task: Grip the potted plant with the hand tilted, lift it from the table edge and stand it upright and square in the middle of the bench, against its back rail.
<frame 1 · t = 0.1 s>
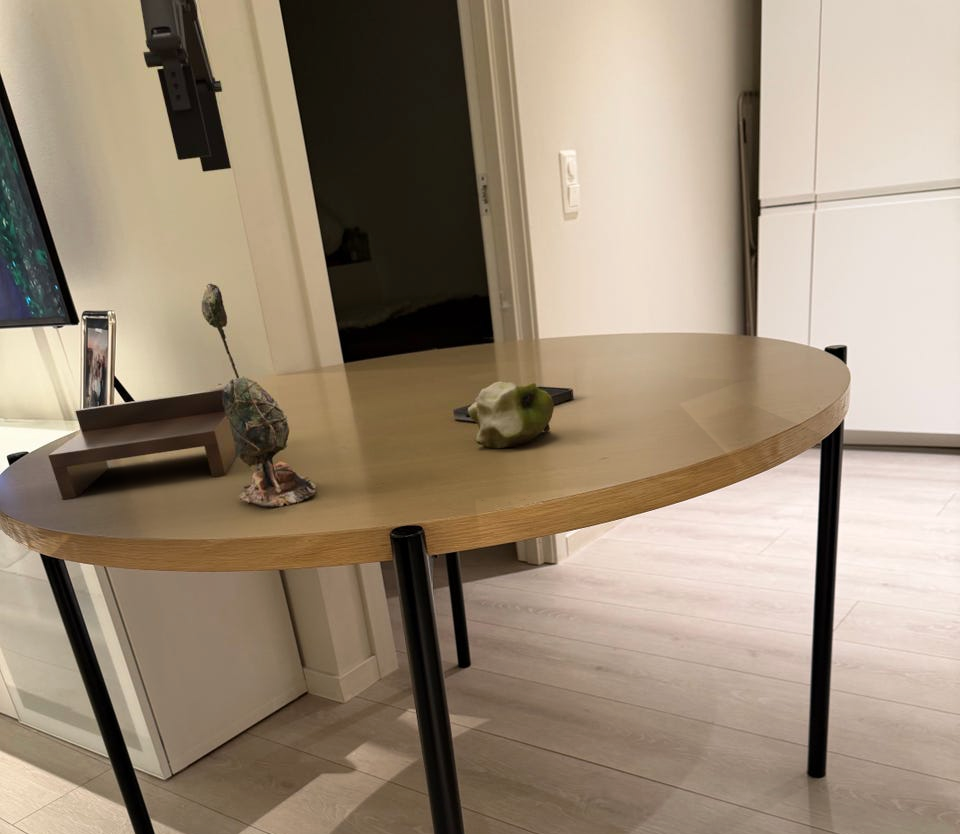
hand: (206, 164, 81), 30 cm above the table, tool pointing down, fingers open, 13 cm apart
phone: (514, 409, 113), on the table
fruit: (513, 444, 97), on the table
bench: (157, 472, 105), on the table
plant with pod: (277, 501, 87), on the table
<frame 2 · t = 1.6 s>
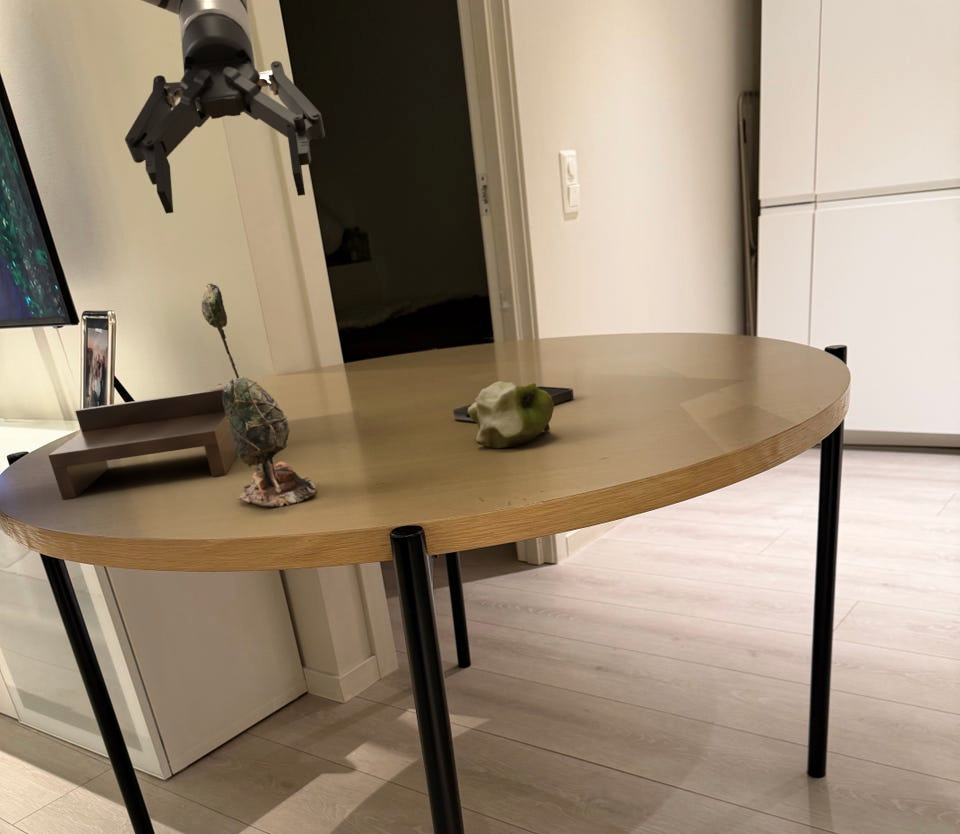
hand: (232, 193, 90), 28 cm above the table, tool tilted 45°, fingers open, 13 cm apart
nothing on the table moved.
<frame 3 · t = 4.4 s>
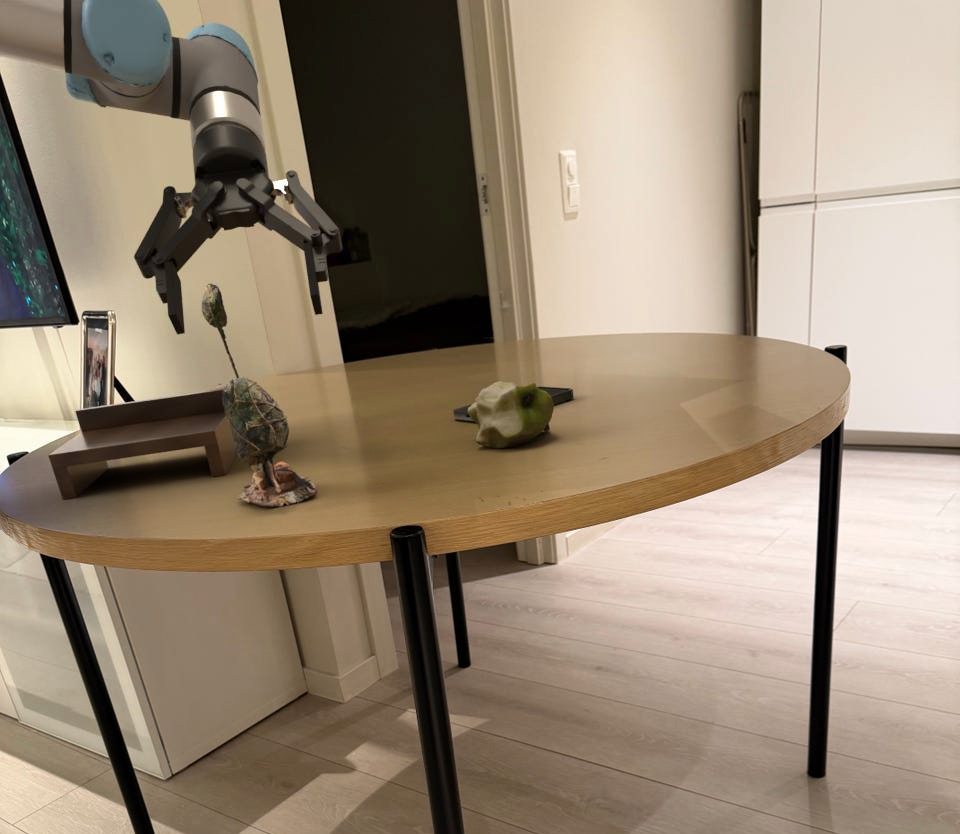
hand: (247, 315, 86), 17 cm above the table, tool tilted 45°, fingers open, 13 cm apart
nothing on the table moved.
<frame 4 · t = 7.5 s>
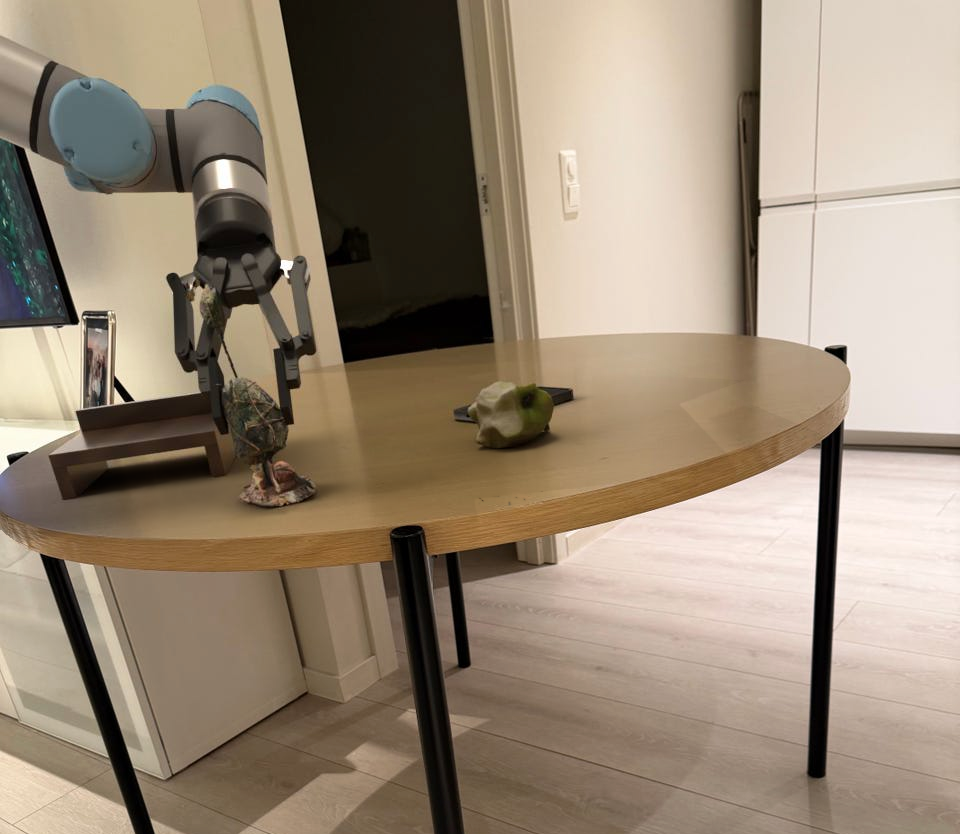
hand: (254, 420, 80), 8 cm above the table, tool tilted 45°, fingers closed on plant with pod, 5 cm apart
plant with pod: (277, 500, 87), on the table, touching gripper
everything else where it was.
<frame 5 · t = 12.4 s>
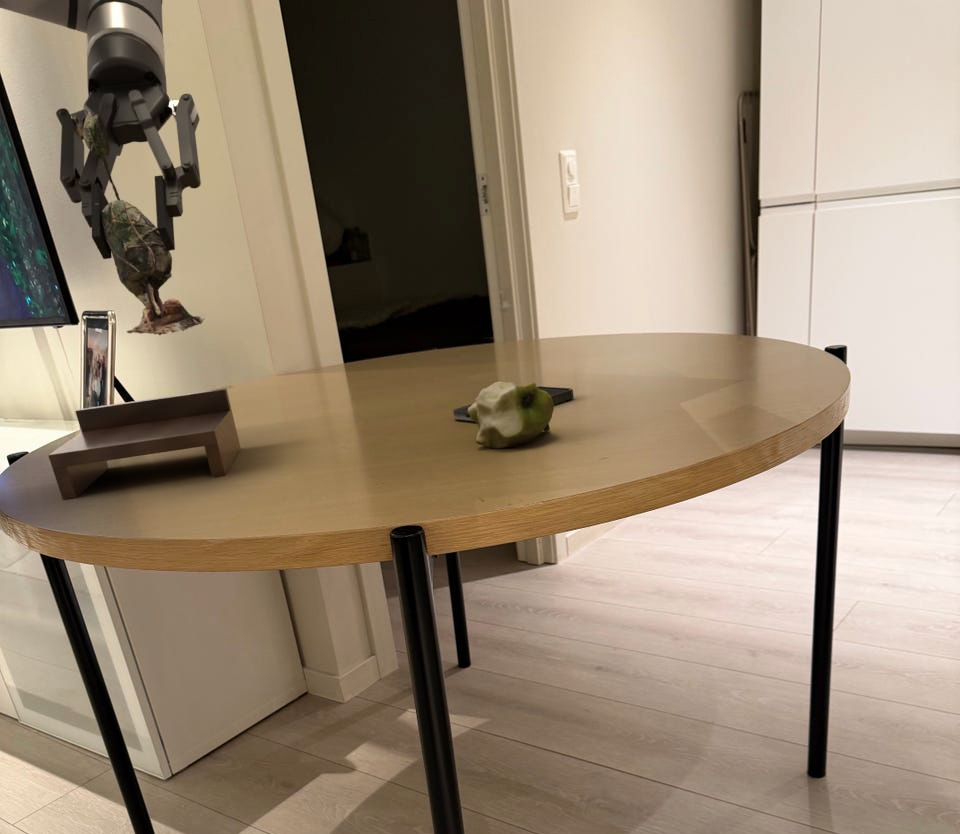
hand: (134, 243, 83), 24 cm above the table, tool tilted 45°, fingers closed on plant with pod, 5 cm apart
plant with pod: (166, 334, 90), point 16 cm above the table, touching gripper
everything else where it was.
when the fingers open (13 cm above the table, at t = 17.3 s): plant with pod stays where it is, resting on bench.
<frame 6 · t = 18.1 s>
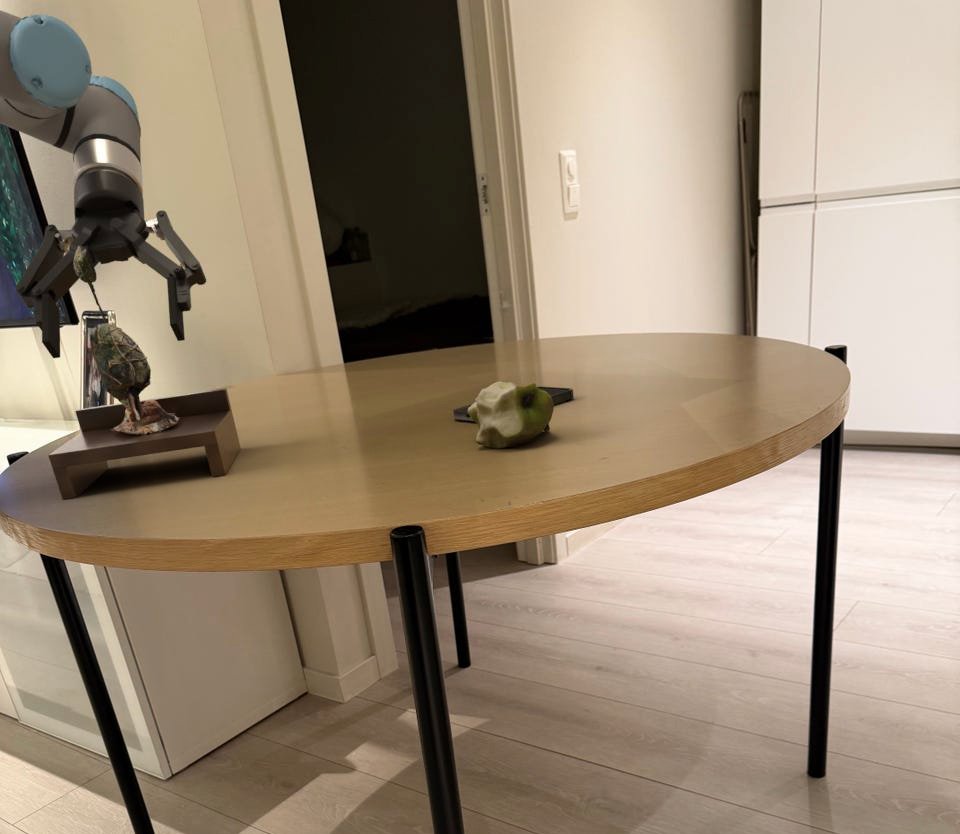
hand: (114, 341, 97), 15 cm above the table, tool tilted 45°, fingers open, 13 cm apart
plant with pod: (146, 431, 103), point 5 cm above the table, touching bench
everything else where it was.
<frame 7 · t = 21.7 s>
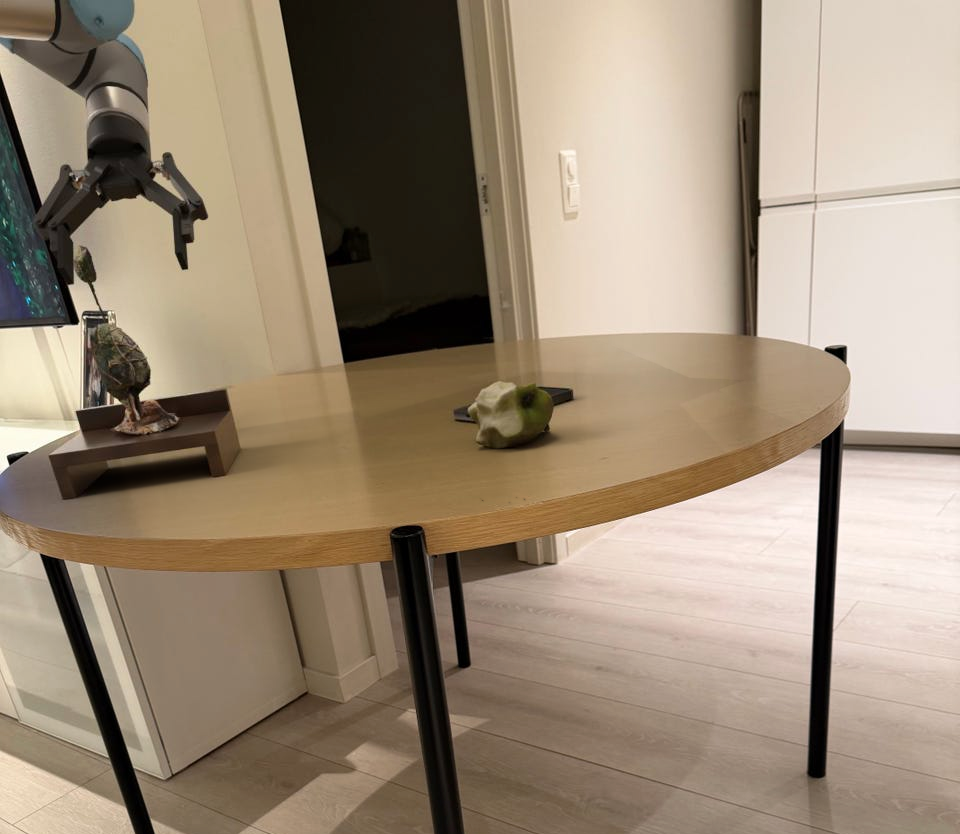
hand: (124, 269, 105), 22 cm above the table, tool tilted 45°, fingers open, 13 cm apart
nothing on the table moved.
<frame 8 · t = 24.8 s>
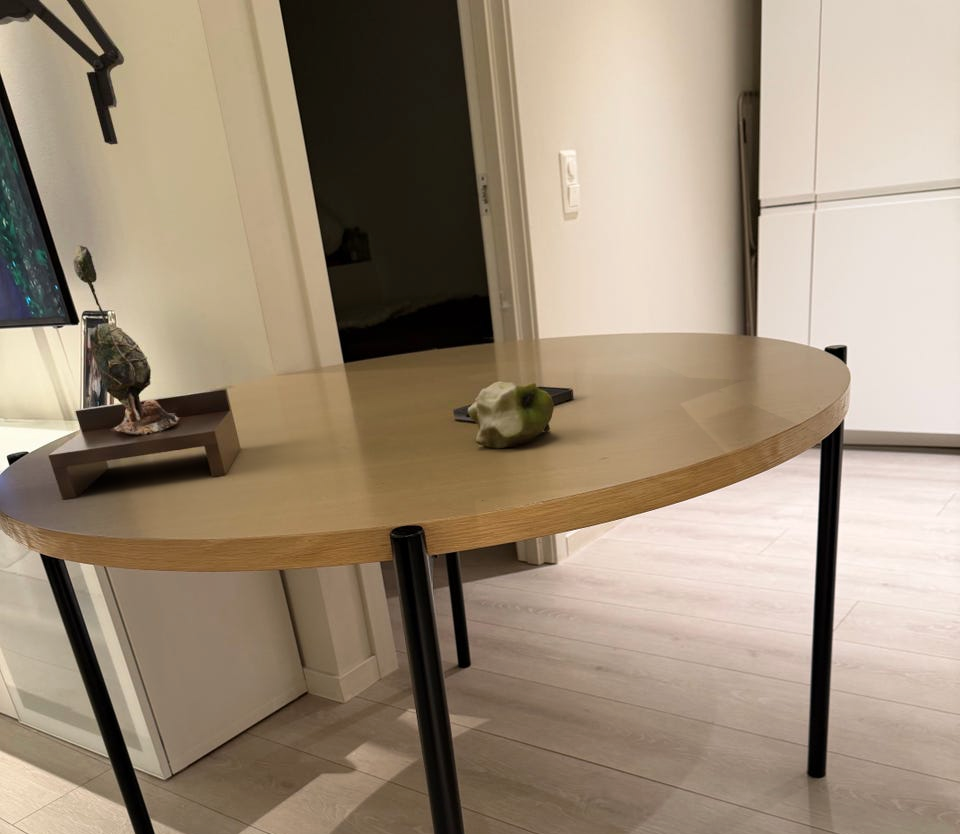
hand: (49, 151, 97), 35 cm above the table, tool pointing down, fingers open, 13 cm apart
nothing on the table moved.
at the end: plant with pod inside the target area on the bench (0.1 cm from its centre), point 4.8 cm above the bench's base; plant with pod tilted 0°; the gripper is holding nothing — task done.
